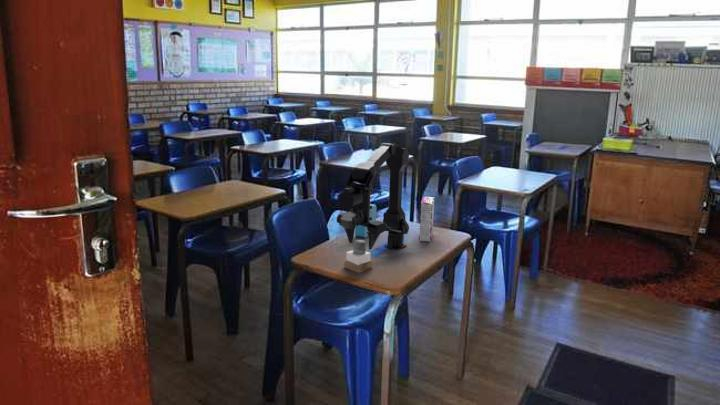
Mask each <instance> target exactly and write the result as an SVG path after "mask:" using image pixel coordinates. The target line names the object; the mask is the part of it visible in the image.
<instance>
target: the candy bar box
mask: <svg viewBox="0 0 720 405" xmlns="http://www.w3.org/2000/svg"><path fill="white" fill-rule="evenodd" d="M434 212H435V197H434V196H423V197H422V200H421V203H420V218H419V219H420V220H419V221H420V222H419V223H420V224H419V225H420V226H419V240H418V241H419V242H424V241H426V242H427V243H430V242H432V238H433V231H434Z"/></svg>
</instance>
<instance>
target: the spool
mask: <svg viewBox="0 0 720 405" xmlns="http://www.w3.org/2000/svg"><path fill="white" fill-rule="evenodd" d="M352 243H353V244H352V250H353V253H354V254H356V255H363V254H365V253H366V250H367V249H366V248H367V246H366V245H367V241H366V240H363V239H355V240H353V241H352Z"/></svg>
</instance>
